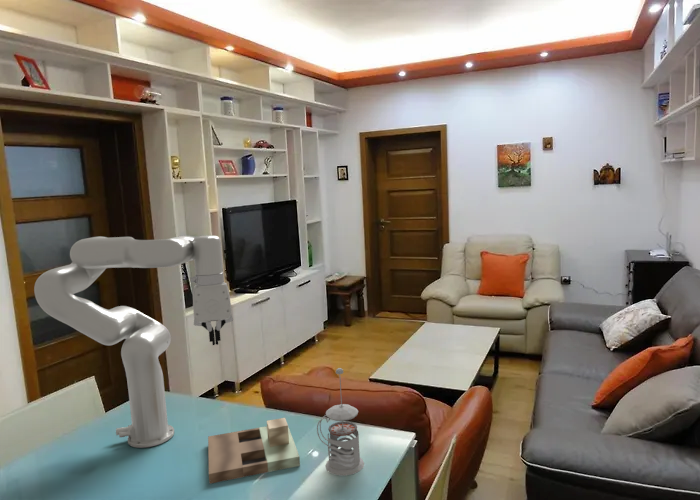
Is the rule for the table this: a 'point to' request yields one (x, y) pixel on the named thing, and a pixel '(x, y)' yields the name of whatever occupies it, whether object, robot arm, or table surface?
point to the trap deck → (248, 454)
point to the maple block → (277, 432)
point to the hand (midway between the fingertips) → (215, 343)
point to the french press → (345, 457)
